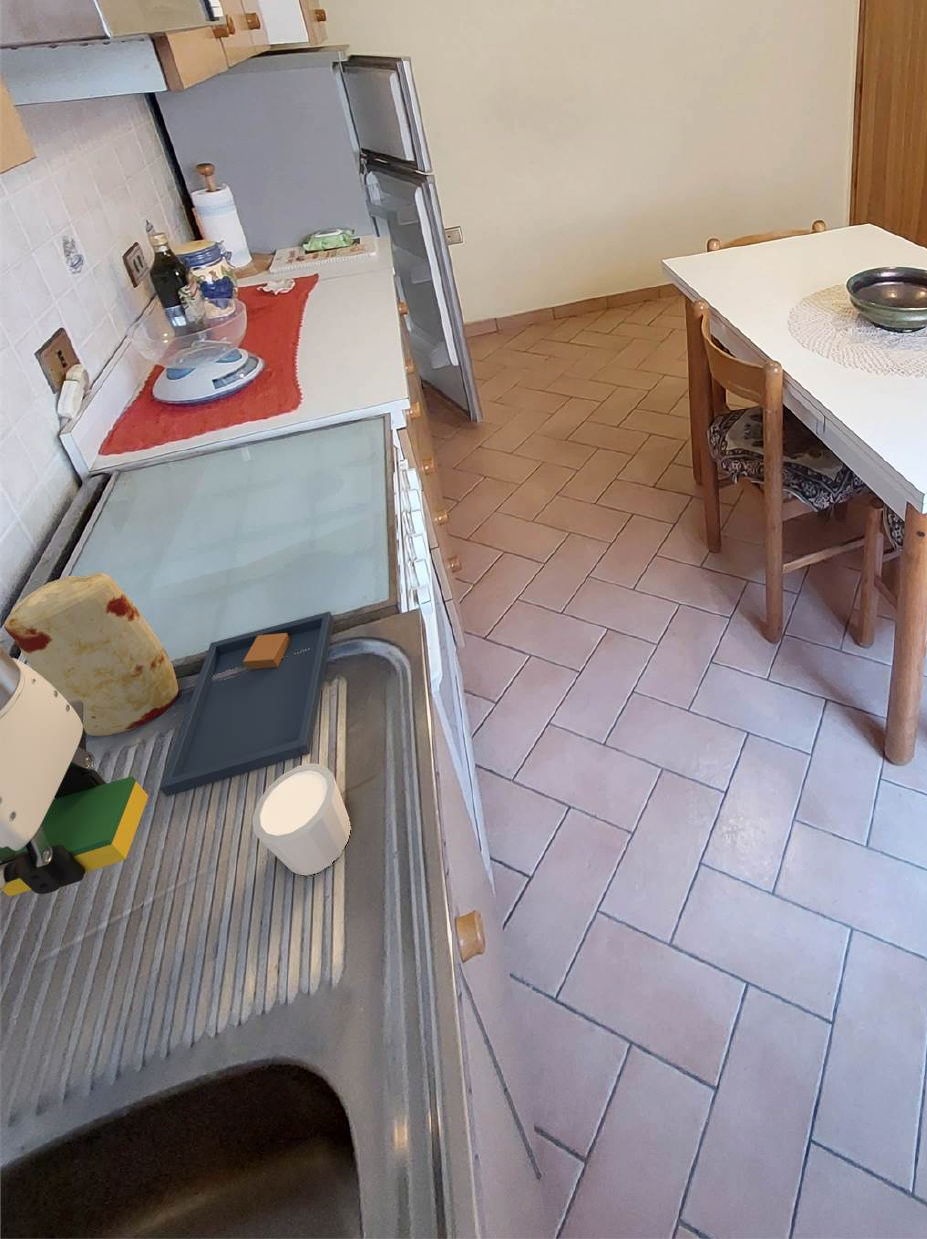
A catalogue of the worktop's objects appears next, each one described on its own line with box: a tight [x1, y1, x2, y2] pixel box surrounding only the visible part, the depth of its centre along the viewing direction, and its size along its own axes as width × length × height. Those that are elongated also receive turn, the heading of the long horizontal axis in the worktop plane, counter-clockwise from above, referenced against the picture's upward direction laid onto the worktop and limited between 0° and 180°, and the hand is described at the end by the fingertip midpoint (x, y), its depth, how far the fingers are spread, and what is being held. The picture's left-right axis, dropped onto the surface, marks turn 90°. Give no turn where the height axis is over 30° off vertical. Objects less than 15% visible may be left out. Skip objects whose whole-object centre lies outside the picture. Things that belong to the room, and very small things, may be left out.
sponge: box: [0, 775, 149, 897], centre depth 57 cm, size 8×5×3 cm, turn 105°
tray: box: [159, 611, 335, 797], centre depth 81 cm, size 14×18×2 cm
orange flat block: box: [243, 633, 291, 669], centre depth 86 cm, size 4×4×2 cm
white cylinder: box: [251, 762, 352, 875], centre depth 66 cm, size 7×7×7 cm
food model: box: [3, 572, 179, 737], centre depth 77 cm, size 10×7×20 cm
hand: (78, 841), depth 57 cm, fingers closed on sponge, 5 cm apart
